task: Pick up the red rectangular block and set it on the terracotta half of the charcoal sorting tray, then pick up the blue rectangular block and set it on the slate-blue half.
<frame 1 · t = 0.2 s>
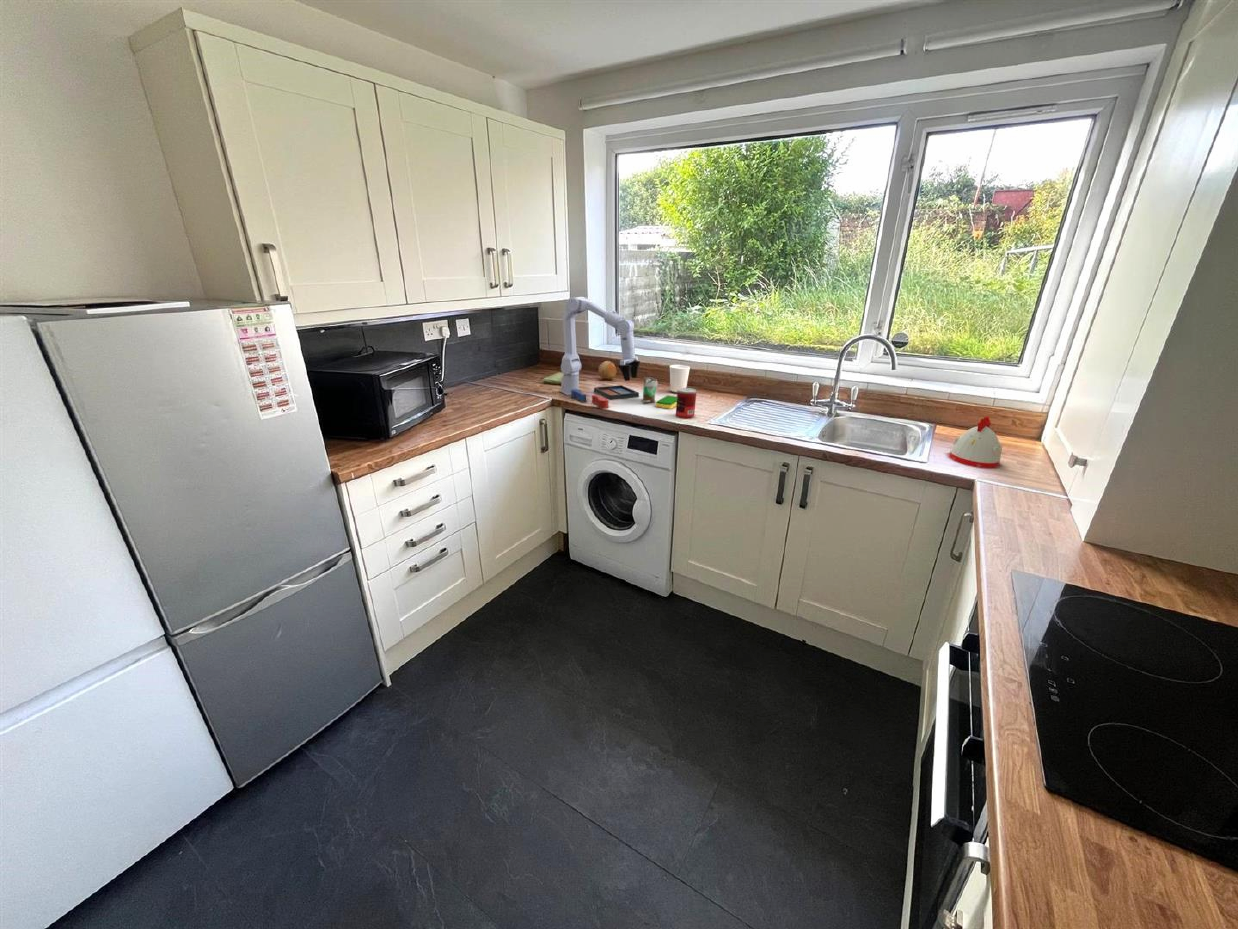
hand: (630, 379, 222), 10 cm above the countertop, tool pointing down, fingers open, 7 cm apart
red rectangular block: (600, 405, 218), on the countertop
dish sponge: (668, 405, 223), on the countertop
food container: (650, 401, 228), on the countertop
canned food: (684, 416, 207), on the countertop
washcloth: (561, 382, 261), on the countertop
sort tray: (616, 394, 239), on the countertop
onion: (607, 380, 269), on the countertop
cup: (677, 392, 247), on the countertop
blue rectangular block: (578, 398, 228), on the countertop
kitchen timer: (973, 460, 167), on the countertop
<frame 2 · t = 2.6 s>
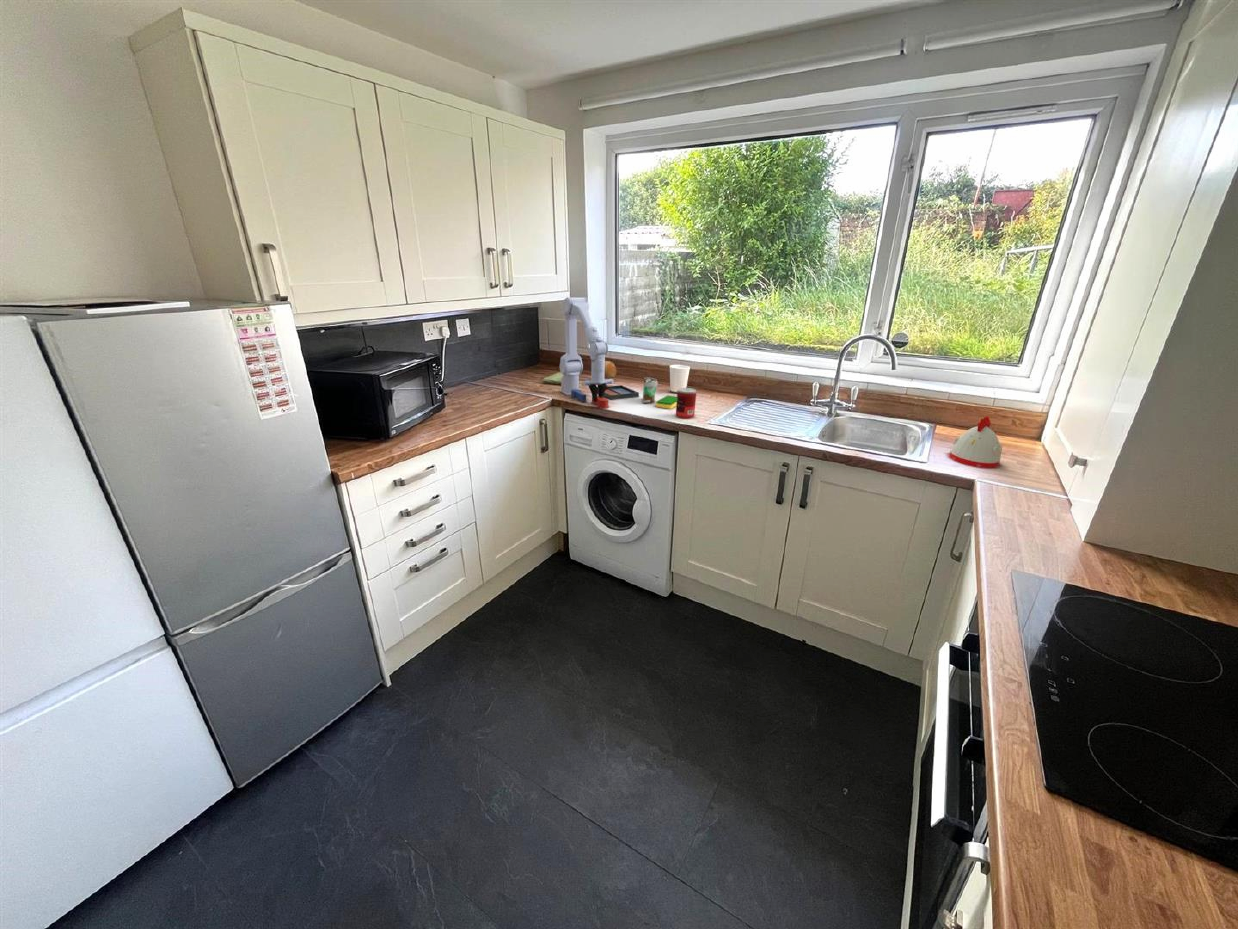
hand: (597, 400, 220), 1 cm above the countertop, tool pointing down, fingers closed on red rectangular block, 2 cm apart
red rectangular block: (600, 405, 218), on the countertop, touching gripper
everything else where it was.
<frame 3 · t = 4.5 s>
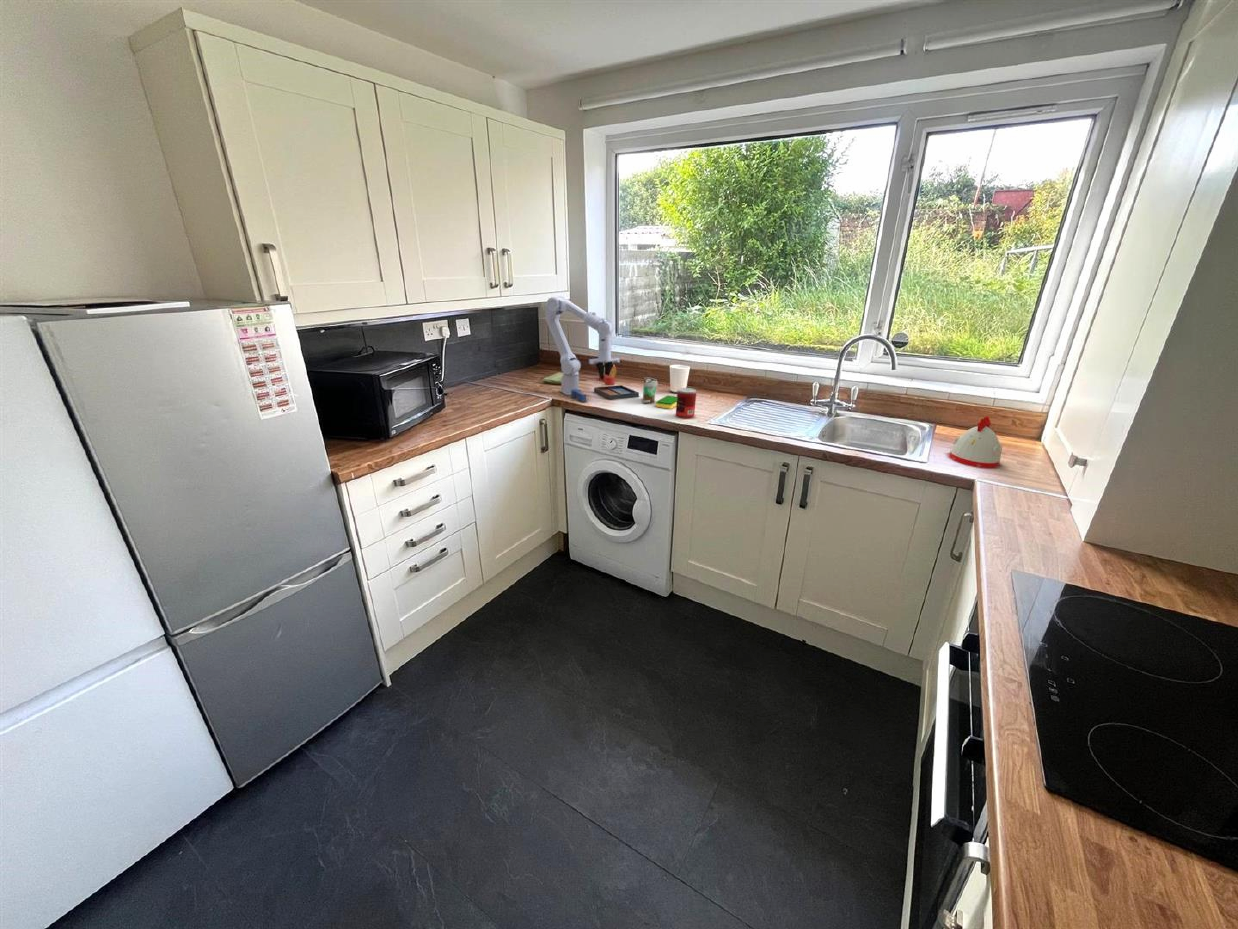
hand: (604, 378, 230), 8 cm above the countertop, tool pointing down, fingers closed on red rectangular block
red rectangular block: (606, 382, 229), point 7 cm above the countertop, touching gripper
everything else where it was.
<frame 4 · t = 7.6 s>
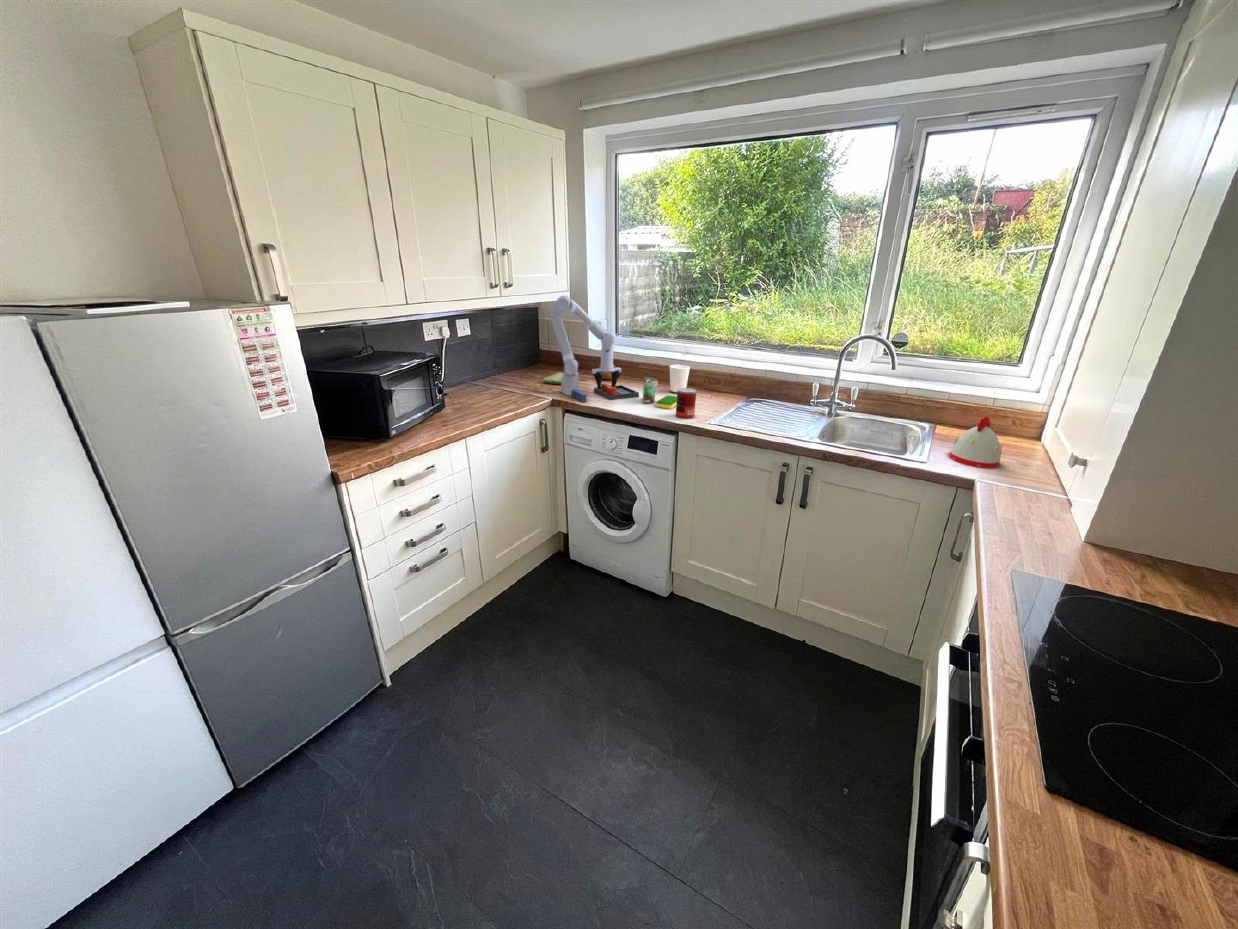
hand: (606, 387, 238), 3 cm above the countertop, tool pointing down, fingers open, 7 cm apart
red rectangular block: (608, 393, 236), point 1 cm above the countertop, touching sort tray
everything else where it was.
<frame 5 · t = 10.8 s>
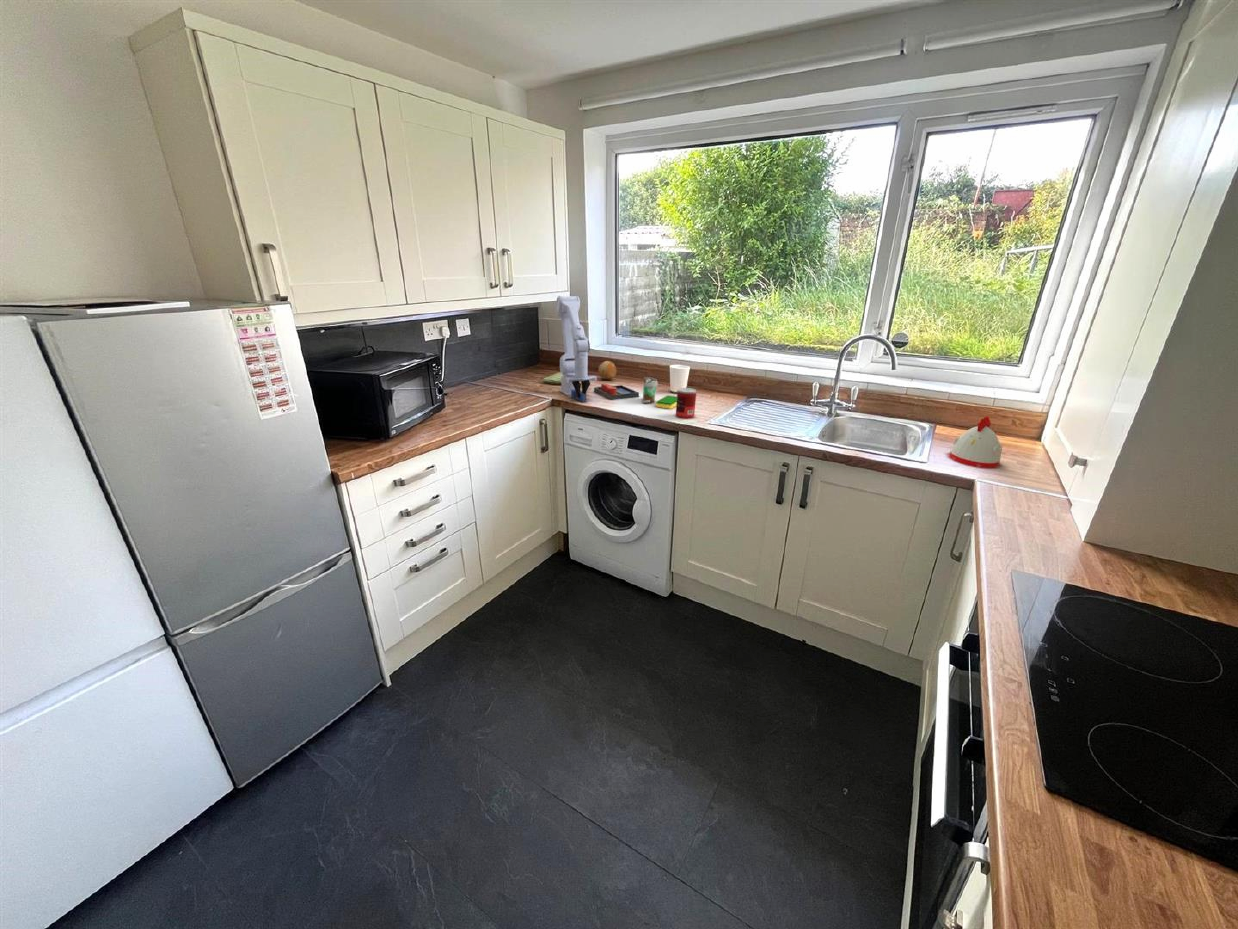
hand: (581, 397, 225), 1 cm above the countertop, tool pointing down, fingers closed on blue rectangular block, 2 cm apart
blue rectangular block: (578, 398, 228), on the countertop, touching gripper
everything else where it was.
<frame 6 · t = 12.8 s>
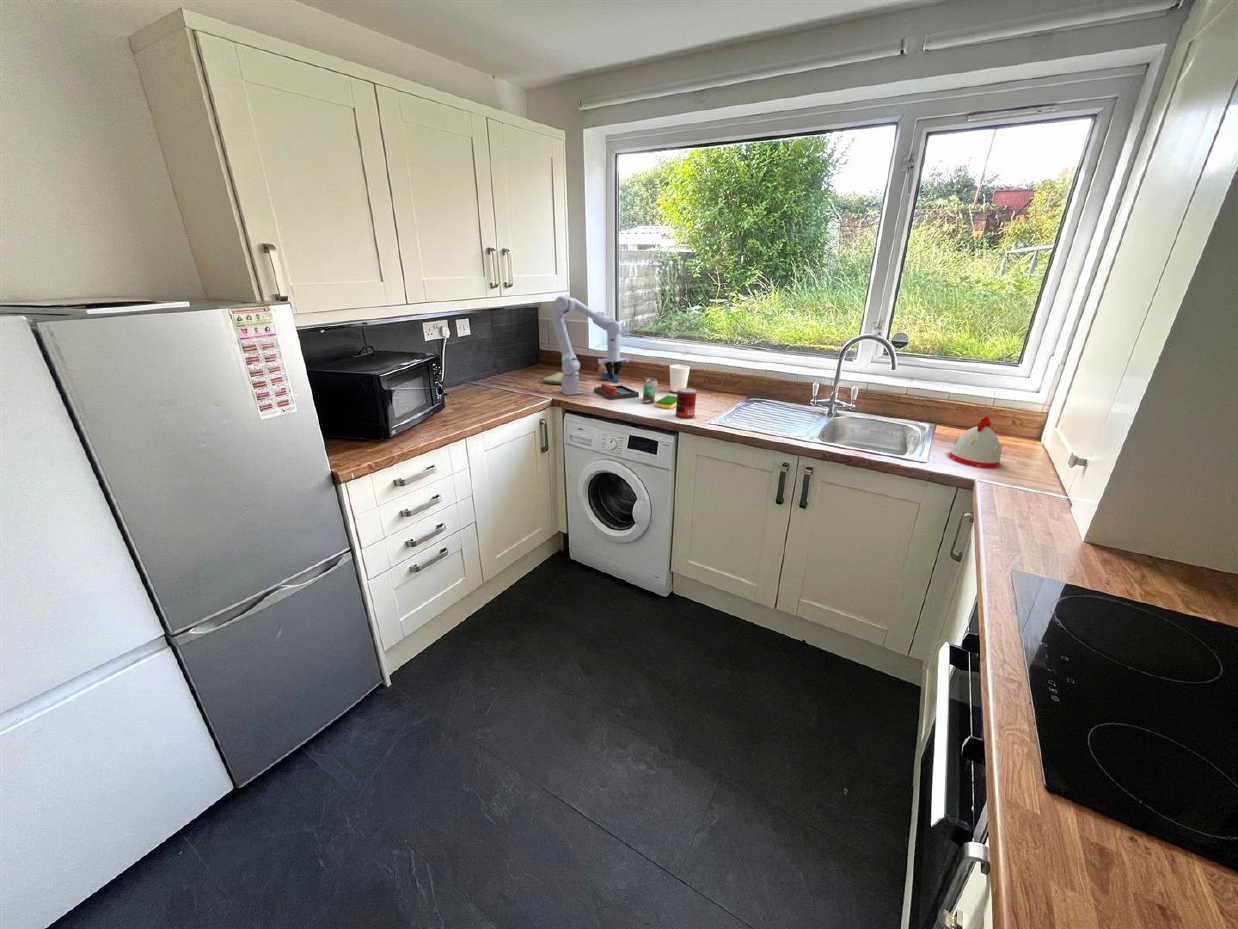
hand: (612, 378, 231), 8 cm above the countertop, tool pointing down, fingers closed on blue rectangular block
blue rectangular block: (610, 380, 234), point 7 cm above the countertop, touching gripper
everything else where it was.
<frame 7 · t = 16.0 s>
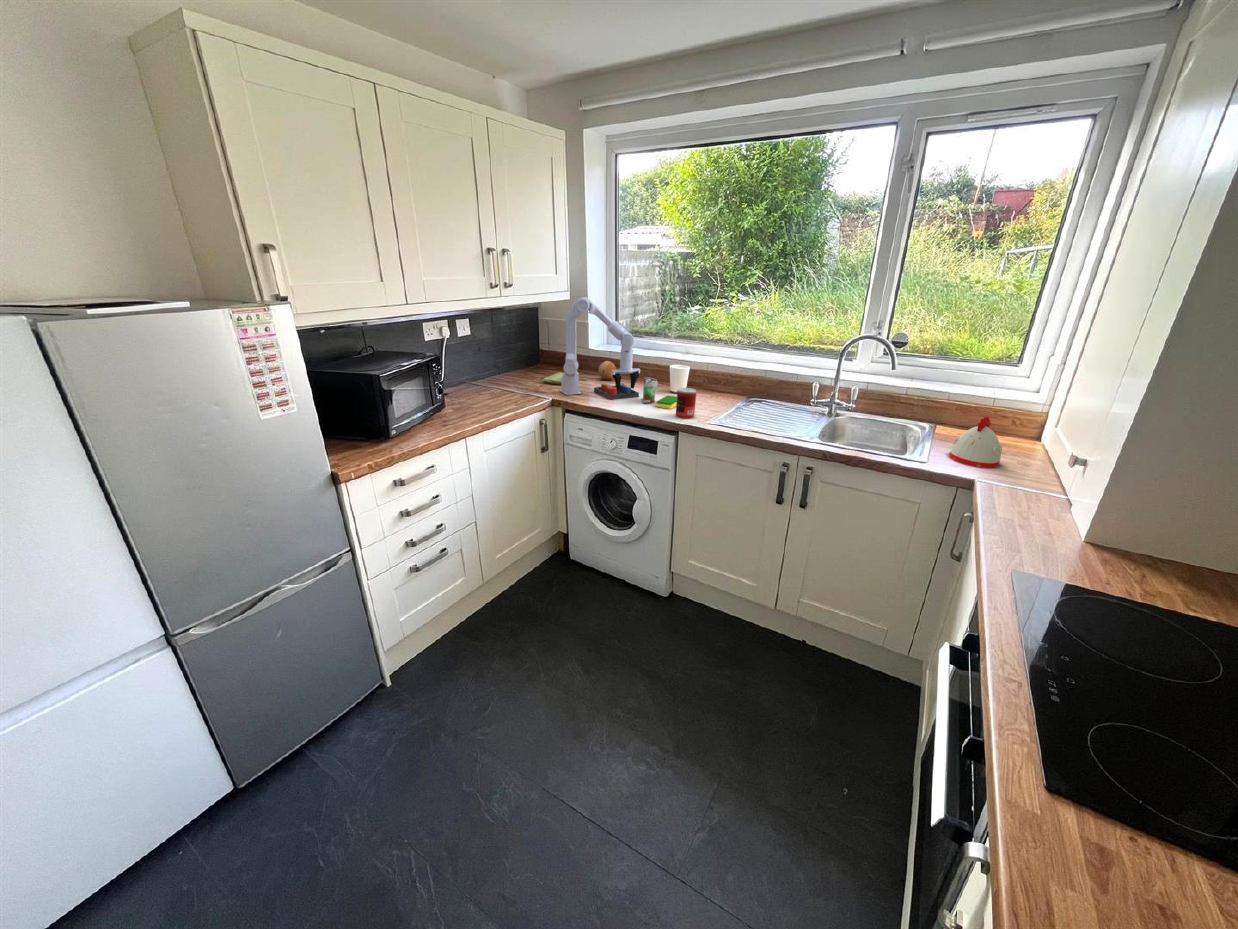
hand: (625, 388, 237), 3 cm above the countertop, tool pointing down, fingers open, 7 cm apart
blue rectangular block: (622, 392, 240), point 1 cm above the countertop, touching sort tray
everything else where it was.
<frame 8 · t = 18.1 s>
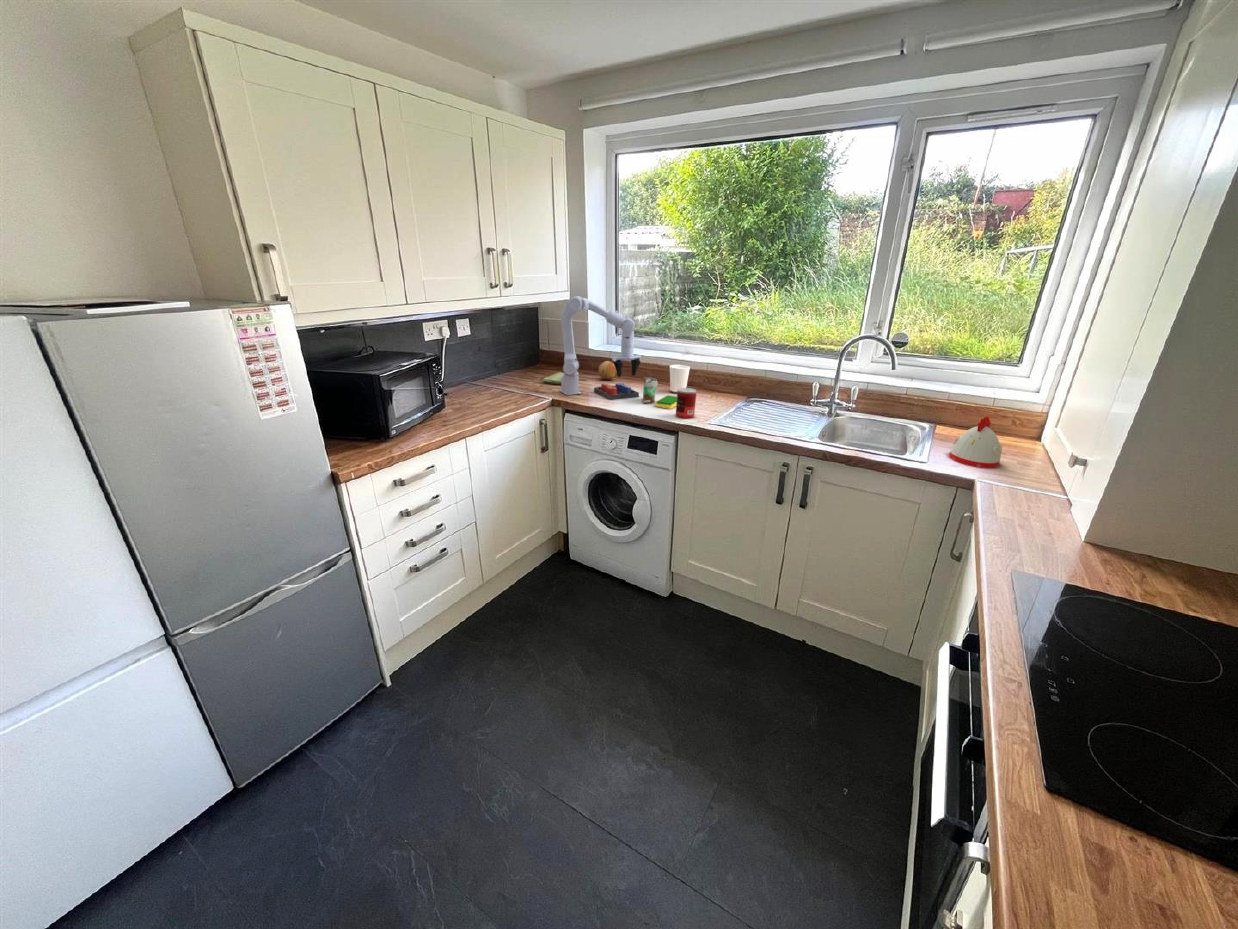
hand: (626, 375, 233), 9 cm above the countertop, tool pointing down, fingers open, 7 cm apart
nothing on the countertop moved.
at the end: red rectangular block inside the target area on the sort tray (0.3 cm from its centre), point 0.8 cm above the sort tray's base; blue rectangular block inside the target area on the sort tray (0.3 cm from its centre), point 0.8 cm above the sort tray's base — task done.
